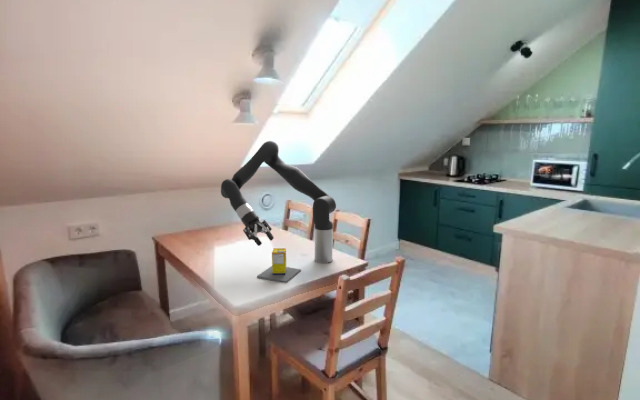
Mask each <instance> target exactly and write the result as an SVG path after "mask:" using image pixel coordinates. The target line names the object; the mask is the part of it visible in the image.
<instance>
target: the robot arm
mask: <svg viewBox="0 0 640 400" xmlns="http://www.w3.org/2000/svg"><path fill="white" fill-rule="evenodd" d="M263 163H265V164H266V165H267V166H268V167H270V168H271V169H272V170H274V171H275V172H276V173H277V174H278V175H279V176H280V177H281V178H283V179H284V181H286V183H287V184H288V185H289V186H291V187H292V188H293V189H294V190H296V191H297V192H298V193H301V194H304V195H306V196H307V197H308V198H311V199H312V200H313V204H312V223H313V225H314V261H315V262H316V263H319V264H327V263H328V262H329V263H331V262H332V261H333V247H334V246H333V245H334V244H333V241H334V237H333V236H334V234H333V233H334V224H333V221H331V220H330V214H332V213H333V212H334V211H335V210H336V208H337V203H336V201H335V200H334V198H333V197H332V196H331V195H329V194H328V193H326V192H325V191H324V190H323V189H322V188H320V187H319V186H318V185H316V183H314V181H312V180H311V179H310V178H309V177H308V176H307V175H306V174H305V173H304V172H303V171H302V170H301V169H300V168H298V167H296V166H293V165H290V164H287V163H286V162H285V161H284V160H282V159H281V158H280V157H279V145H278V144H277V143H276V142H275V141H272V140H268V141H266V142H264V143H262V144H261V146H260V147H259V149H258V150H257V151H256V152H255V153H254V155H253V156H252V157H251V158H250V159H249V160H248V161H247V162H246V163H245V164H244V165H243V166H241V167H240V169H238V170H237V171H236V172H235V173H234V174H233V176H232V178H231V179H230V178H228V179H224V180H223V181H222V182H221V185H220V195H221V196H222V197H223V198H225V199H229V203H230V206H231V207H232V209H233V210H234V211H235V214H236V215H237V217H238V218H239V220H240V221H241V222H242V224H243V225H244V227H243V230H242V231H243V233H244V234H245V236H246V237H247V239H248V240H249V241H251V240H252V241H254V243H255V244H256V245H257V246H261V245H262V244H263V242H262V241H261V239H259V237H258V235H257V234H260V233H262V234H264V235H266V237H267V238H268V239H269V241H273V240H274V239H275V238H274V235H273V234H272V233H271V231H272V230H273V228H272V227H271V226H270V225H269V223H268V222H267V221H266V219H265V220H264V219H263V221H260V217H259V216H258V215H257V213H256V211H255V210H254V209H253V207H252V206H251V205H250V204H249V203H248V202H247V200H246V199H245V197H244V196H243V194H242V192H241V189H242V187H243V186H244V185H245V184H246V183H248V182H249V181H250V180H251V179H252V178H253V177H254V175H256V173H257V172H258V170H259V168H260V167H261V165H262V164H263ZM329 263H328V264H329Z"/></svg>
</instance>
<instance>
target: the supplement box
mask: <svg viewBox="0 0 640 400" xmlns="http://www.w3.org/2000/svg"><path fill="white" fill-rule="evenodd" d="M271 264H272V265H271V266H272V272H273V275H285V273H286V267H287V247H286V248H282V247H281V248H280V247H278V248H273V249H272V251H271Z"/></svg>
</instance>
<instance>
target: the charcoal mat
mask: <svg viewBox="0 0 640 400" xmlns="http://www.w3.org/2000/svg"><path fill="white" fill-rule="evenodd" d="M301 271H302V269H301V268H295V267H288V266H286V273H285V275H273V272H272V265H271V266H269V267H268V268H267V269H265V270H264V271H262V272H261V273H259V274H257V276H256V278H257V279H263V280H268V281H274V282H277V283H278V282H279V283H284V284H287V283H288V282H290V281H291V280H292V279H293V278H295V277H296V276H297V275H298V274H299V273H301Z"/></svg>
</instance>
